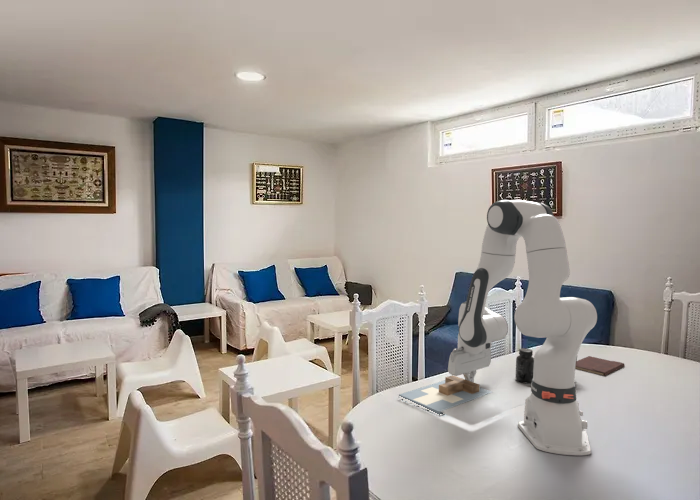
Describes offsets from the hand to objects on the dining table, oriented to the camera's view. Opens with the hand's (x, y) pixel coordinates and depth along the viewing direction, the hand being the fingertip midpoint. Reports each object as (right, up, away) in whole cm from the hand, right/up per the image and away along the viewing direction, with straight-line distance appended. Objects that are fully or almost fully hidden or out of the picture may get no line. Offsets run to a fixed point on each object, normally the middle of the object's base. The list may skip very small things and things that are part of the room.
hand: (469, 382), depth 169 cm
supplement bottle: (+24, -2, +11) cm, 26 cm away
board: (-10, -3, -7) cm, 13 cm away
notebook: (+61, -2, +29) cm, 68 cm away
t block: (-6, -1, -5) cm, 8 cm away
